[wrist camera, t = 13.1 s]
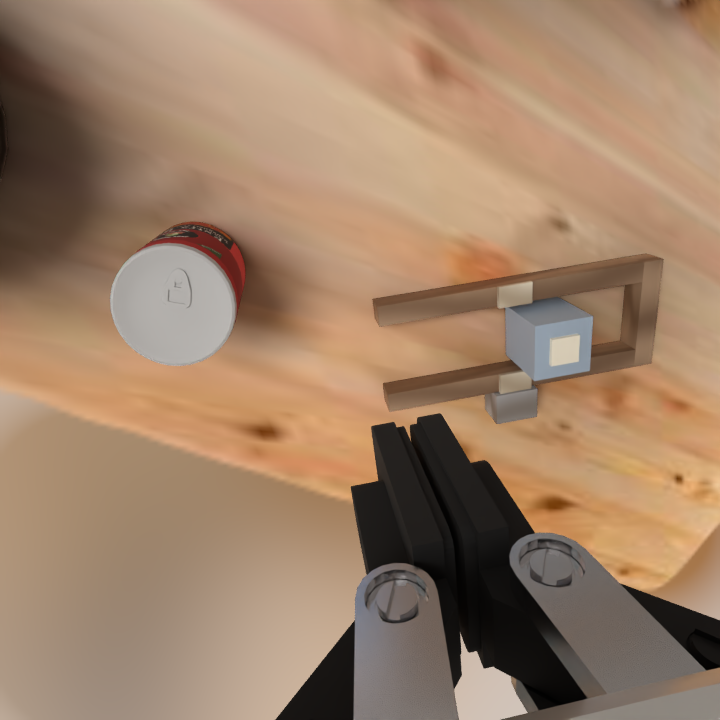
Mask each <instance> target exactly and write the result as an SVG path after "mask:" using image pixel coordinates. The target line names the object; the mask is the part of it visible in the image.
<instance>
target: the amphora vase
mask: <svg viewBox="0 0 720 720" xmlns="http://www.w3.org/2000/svg"><path fill="white" fill-rule="evenodd" d="M7 152H8V143H7V129H6V116H5V113H4V110H3V107H2V104H1V101H0V181H1V179H2V175H3V170H4V166H5V161H6V156H7Z"/></svg>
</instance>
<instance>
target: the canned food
mask: <svg viewBox="0 0 720 720" xmlns="http://www.w3.org/2000/svg"><path fill="white" fill-rule="evenodd" d="M244 283H245V265H244V261H243V258H242V255H241V252H240V251H239V249H238V247H237V246H236V244H235V243H234V242H233V240H232V239H231V238H230V237H229V236H228V235H227V234H225V233H224V232H223V231H221V230H220V229H218V228H216V227H214V226H212V225H209V224H205V223H201V222H186V223H181V224H178V225H175V226H173V227H171V228H169V229H167V230H166V231H164V232H163V233H162V234H160V235H159V236H157V237H156V238H155V239H153V240H152V241H150V242H149V243H148V244H146V245H145V246H144V247H142V248H141V249H139V250H138V251H137V252H136V253H135V254H133V255H132V256H131V257H130V258H129V259H128V260H127V261H126V262H125V263H124V264H123V266H122V267H121V269H120V270H119V272H118V273H117V275H116V277H115V280H114V282H113V285H112V289H111V295H110V306H111V313H112V317H113V321H114V323H115V325H116V327H117V329H118V332H119V333H120V335H121V336H122V337H123V339H124V340H125V341H126V343H127V344H128V345H129V346H130V347H131V348H133V349H134V350H135V351H136V352H137V353H139V354H141V355H142V356H144V357H145V358H147V359H149V360H152V361H154V362H157V363H161V364H165V365H172V366H184V365H191V364H194V363H197V362H200V361H203V360H205V359H207V358H208V357H210V356H212V355H213V354H214V353H215V352H217V351H218V350H219V349H220V348H221V347H222V346H223V344H224V343H225V342H226V340H227V339H228V337H229V336H230V334H231V331H232V329H233V327H234V324H235V321H236V317H237V313H238V309H239V304H240V300H241V296H242V291H243V287H244Z"/></svg>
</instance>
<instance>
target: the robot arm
mask: <svg viewBox="0 0 720 720" xmlns="http://www.w3.org/2000/svg"><path fill="white" fill-rule="evenodd" d="M371 429H372V438H373V445H374V452H375V460H376V467H377V474H378V481H376V482H371V483H366V484H361V485H356V486H351V492H352V498H353V504H354V510H355V516H356V522H357V527H358V533H359V538H360V544H361V548H362V554H363V558H364V563H365V569H366V574H367V576H365V577H364V578H363V580H362V581H361V583H360V585H359V586H358V588H357V593H356V598H355V621H354V622H353V623H352V625H351V626H350V627H349V628H348V629H347V631H346V632H345V633H344V634H343V636H342V637H341V638H340V640H339V641H338V642H337V643H336V645H335V646H334V647H333V648H332V650H331V651H330V652H329V653H328V654H327V656H326V657H325V658H324V659H323V661H322V662H321V663H320V665H319V666H318V667H317V668H316V670H315V671H314V672H313V673H312V675H311V676H310V677H309V678H308V680H307V681H306V682H305V683H304V685H303V686H302V687H301V688H300V690H299V691H298V692H297V693H296V695H295V696H294V697H293V698H292V700H291V701H290V702H289V703H288V705H287V706H286V707H285V708H284V710H283V711H282V712H281V714H280V715H279V716H278V717H277V719H276V720H459V718H458V712H457V706H456V700H455V694H454V688H455V687H456V685H457V683H458V681H459V679H460V677H461V675H462V672H461V658H460V655H461V642H460V633H461V635H462V638H463V641H464V644H465V646H466V649H467V651H468V652H474V651H477V652H478V655H479V657H480V660H481V663H482V665H483V668H489V667H493V666H494V667H495V668H496V669H499V670H500V671H502V672H504V673H506V674H508V675H510V676H511V682H512V684H513V687H514V689H515V692H516V694H517V695H518V697H519V699H520V701H521V702H522V704H523V705H524V707H525V709H526V711H527V712H528V713H526V714H523V715H518V716H514V717H510V718H506V719H502V720H720V620H717V619H714V618H712V617H709V616H706V615H703V614H701V613H698V612H695V611H692V610H690V609H687V608H685V607H682V606H679V605H677V604H674V603H671V602H669V601H666V600H663V599H660V598H658V597H655V596H652V595H650V594H647V593H644V592H642V591H639V590H636V589H634V588H631V587H628V586H626V585H623V584H620V583H619V582H618V581H617V580H616V579H615V578H614V577H613V576H612V575H611V574H610V573H609V572H608V571H607V570H606V569H605V568H604V567H603V566H602V565H601V564H600V563H599V562H598V561H597V560H596V559H595V558H594V557H593V556H592V555H591V554H590V553H589V552H588V551H587V550H586V549H585V548H583V547H582V546H581V545H580V544H578V543H577V542H576V541H574V540H571V539H569V538H567V537H565V536H562V535H558V534H553V533H535V532H534V531H533V529H532V528H531V526H530V525H529V523H528V522H527V520H526V519H525V517H524V516H523V514H522V513H521V511H520V509H519V508H518V506H517V505H516V503H515V502H514V500H513V499H512V497H511V496H510V494H509V493H508V491H507V490H506V488H505V487H504V485H503V484H502V482H501V481H500V479H499V478H498V476H497V475H496V473H495V472H494V470H493V468H492V467H491V465H490V464H489V463H488V462H487V461H485V460H483V461H478V462H473V463H470V461H469V459H468V458H467V456H466V454H465V453H464V451H463V449H462V448H461V446H460V444H459V443H458V441H457V439H456V438H455V436H454V434H453V433H452V431H451V429H450V428H449V426H448V424H447V423H446V421H445V419H444V418H443V416H442V415H441V414H440V413H439V414H434V415H428V416H423V417H418V418H417V424H413V425H410V435H411V441H410V439H409V436H408V434H407V432H406V429H405V427H404V426H402V427H396V425H395V423H394V422H391V423H386V424H380V425H375V426H372V427H371Z"/></svg>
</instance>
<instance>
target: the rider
mask: <svg viewBox="0 0 720 720" xmlns="http://www.w3.org/2000/svg"><path fill="white" fill-rule="evenodd" d="M505 321H506V355H507V356H508V357H509V358H510V359H511V360H512V361H513V362H514V363H515V364H516V365H518V366H519V367H520V368H521V369H522V370H523V371H524V372H525V373H526V374H527V375H528V376H529V377H530V378H532V379H533V380H534V381H538V380H543V379H549V378H554V377H559V376H565V375H570V374H576V373H581V372H587V371H590V360H591V343H592V327H593V316H592V315H590V314H588V313H586V312H585V311H583V310H581V309H579V308H577V307H575V306H574V305H572V304H570V303H568V302H566V301H564V300H563V299H561V298H559V297H552V298H546V299H540V300H534V301H532V303H529V304H524V305H518V306H512V307H506V308H505Z"/></svg>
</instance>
